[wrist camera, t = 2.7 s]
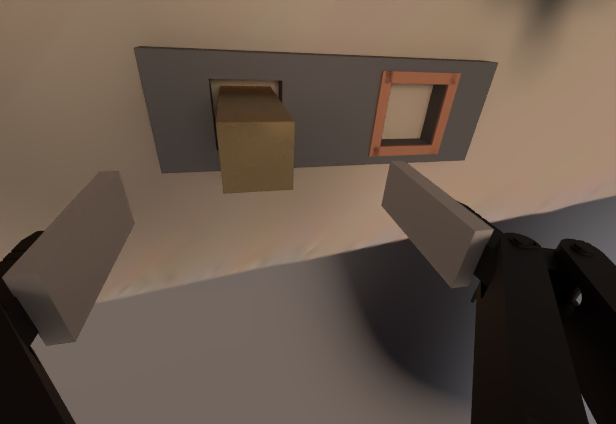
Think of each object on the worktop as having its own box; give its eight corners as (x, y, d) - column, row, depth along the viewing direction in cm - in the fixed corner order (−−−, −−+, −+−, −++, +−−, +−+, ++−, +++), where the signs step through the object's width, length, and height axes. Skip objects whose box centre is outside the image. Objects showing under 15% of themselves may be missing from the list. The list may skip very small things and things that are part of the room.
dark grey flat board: (165, 164, 29) (161, 174, 27) (140, 46, 23) (132, 48, 21) (453, 153, 36) (466, 161, 34) (483, 60, 30) (500, 63, 28)
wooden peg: (225, 134, 28) (223, 193, 18) (220, 85, 26) (215, 122, 16) (270, 133, 29) (293, 189, 19) (270, 86, 27) (294, 121, 17)
